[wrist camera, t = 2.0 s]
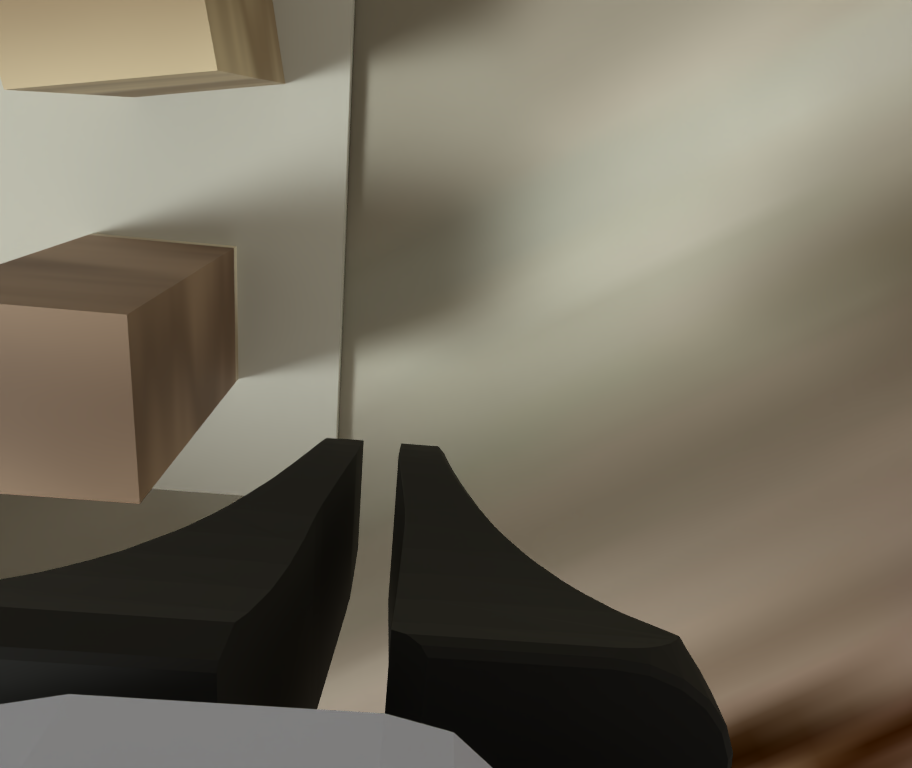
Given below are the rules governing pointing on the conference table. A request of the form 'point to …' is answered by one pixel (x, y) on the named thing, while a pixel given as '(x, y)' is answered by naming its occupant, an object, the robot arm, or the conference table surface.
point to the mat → (216, 223)
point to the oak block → (138, 46)
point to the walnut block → (111, 362)
